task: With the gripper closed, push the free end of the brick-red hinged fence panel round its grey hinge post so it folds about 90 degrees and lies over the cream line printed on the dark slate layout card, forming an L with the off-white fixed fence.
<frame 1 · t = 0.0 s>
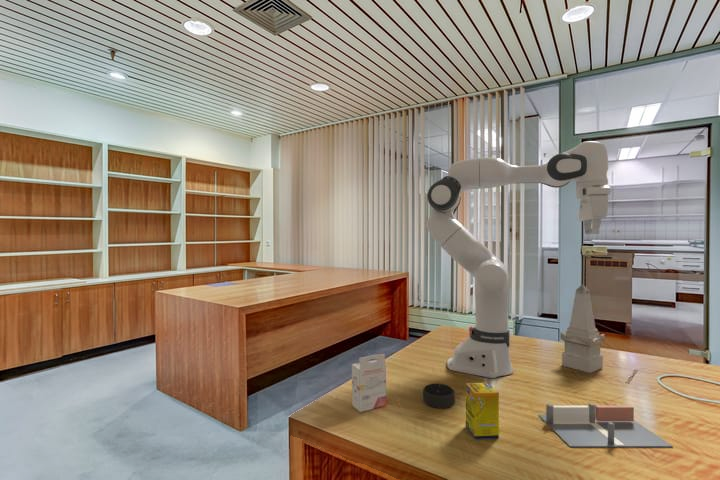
hand: (591, 234, 120), 48 cm above the table, fingers open, 8 cm apart
miniature monument: (582, 366, 133), on the table
layout card: (591, 423, 92), on the table
ink cartridge box: (368, 406, 102), on the table
fence panel: (614, 413, 92), point 3 cm above the table, hinge at 0.0°
fixed fence: (591, 423, 92), resting on layout card
smart speaker: (438, 403, 105), on the table
supplement box: (481, 433, 88), on the table
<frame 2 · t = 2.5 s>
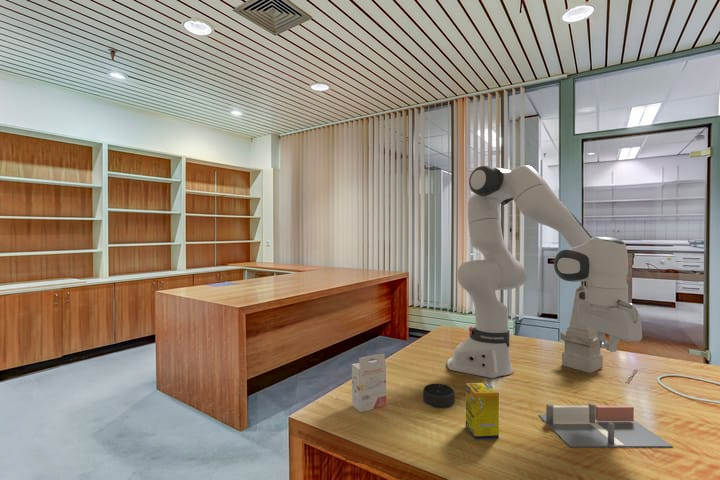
hand: (607, 349, 98), 17 cm above the table, fingers closed
nothing on the table moved.
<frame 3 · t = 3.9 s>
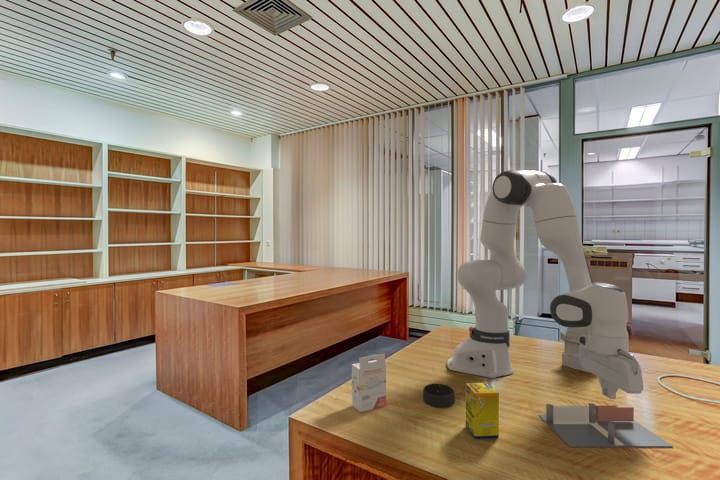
hand: (608, 396, 97), 5 cm above the table, fingers closed
nothing on the table moved.
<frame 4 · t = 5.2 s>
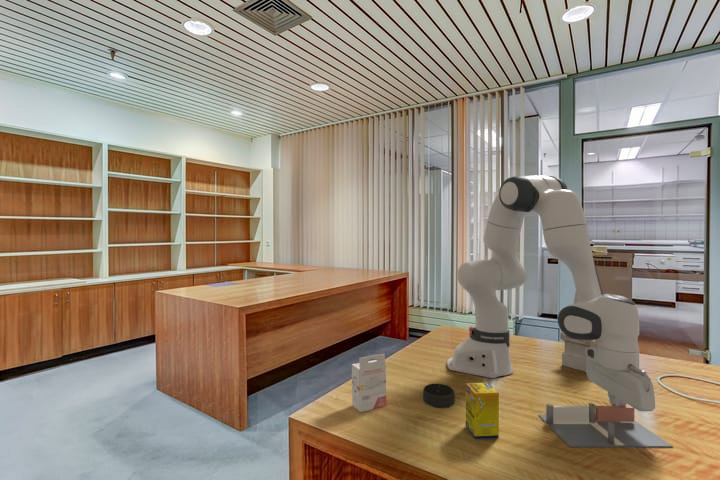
hand: (617, 412, 94), 2 cm above the table, fingers closed
fence panel: (614, 413, 92), point 3 cm above the table, hinge at 1.5°, touching gripper
everything else where it was.
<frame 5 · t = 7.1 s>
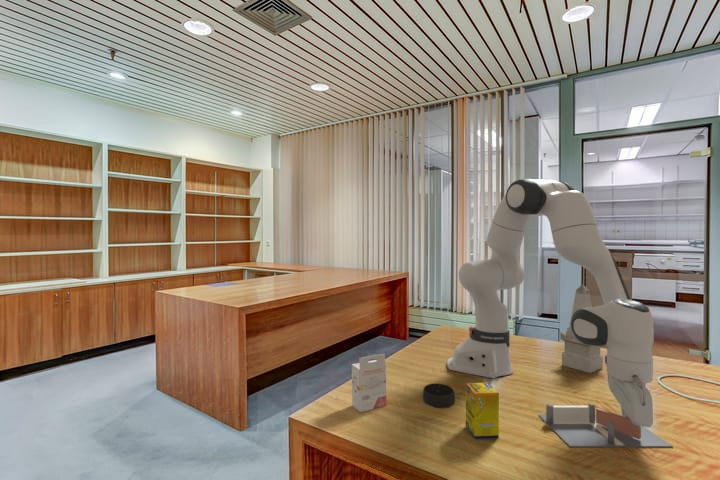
hand: (628, 426, 88), 2 cm above the table, fingers closed
fence panel: (617, 422, 88), point 3 cm above the table, hinge at 55.5°, touching gripper
everything else where it was.
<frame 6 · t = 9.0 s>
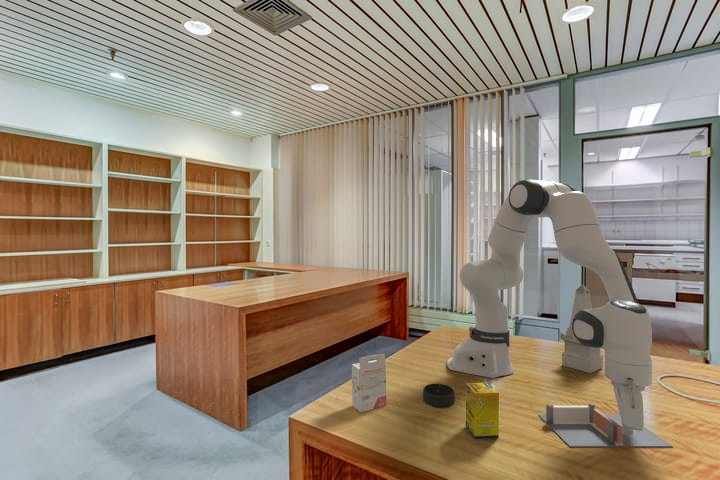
hand: (627, 431, 85), 2 cm above the table, fingers closed
fence panel: (606, 425, 87), point 3 cm above the table, hinge at 90.1°
everything else where it was.
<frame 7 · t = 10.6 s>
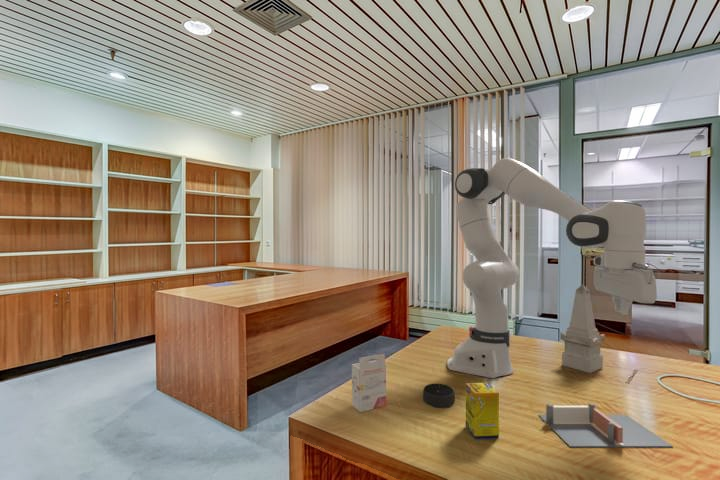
hand: (621, 313, 97), 27 cm above the table, fingers closed
nothing on the table moved.
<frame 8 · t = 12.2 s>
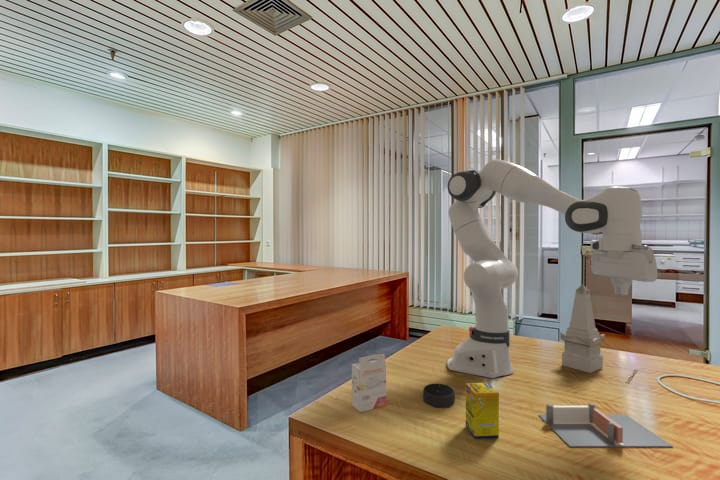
hand: (621, 294, 102), 31 cm above the table, fingers closed
nothing on the table moved.
at the end: fence panel at +90° (first picture: +0°) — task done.
